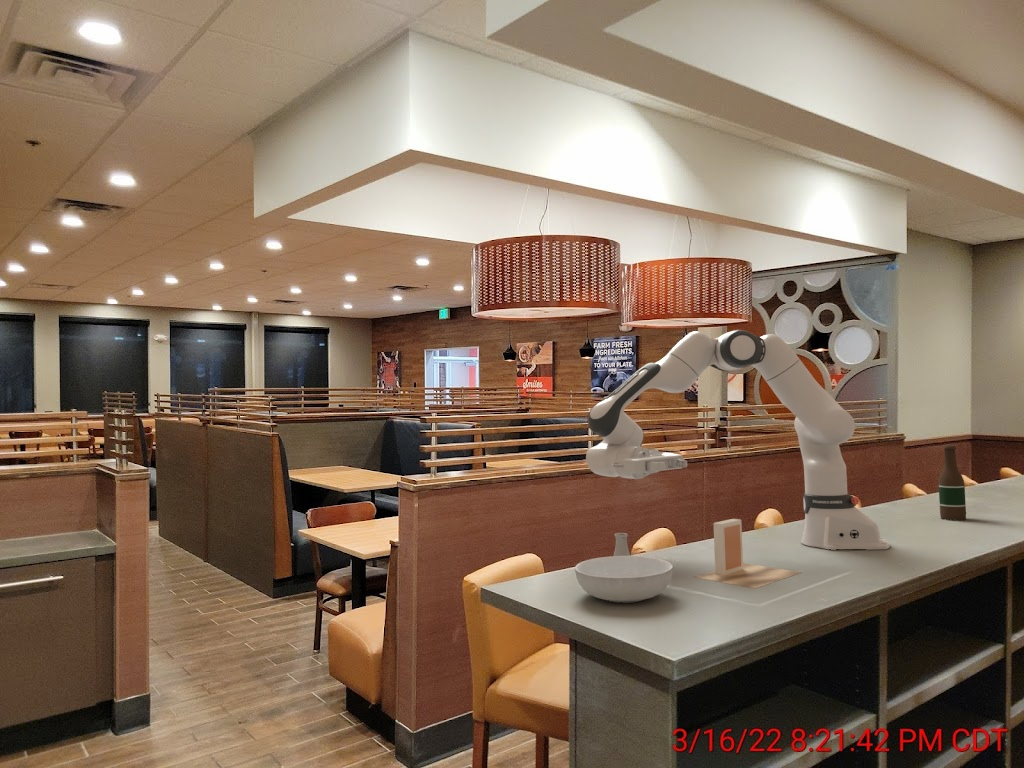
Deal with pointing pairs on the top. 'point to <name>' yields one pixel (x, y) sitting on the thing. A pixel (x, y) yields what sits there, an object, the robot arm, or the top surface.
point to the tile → (728, 546)
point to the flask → (621, 545)
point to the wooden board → (750, 576)
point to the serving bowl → (624, 577)
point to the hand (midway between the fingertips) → (676, 465)
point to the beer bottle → (951, 488)
